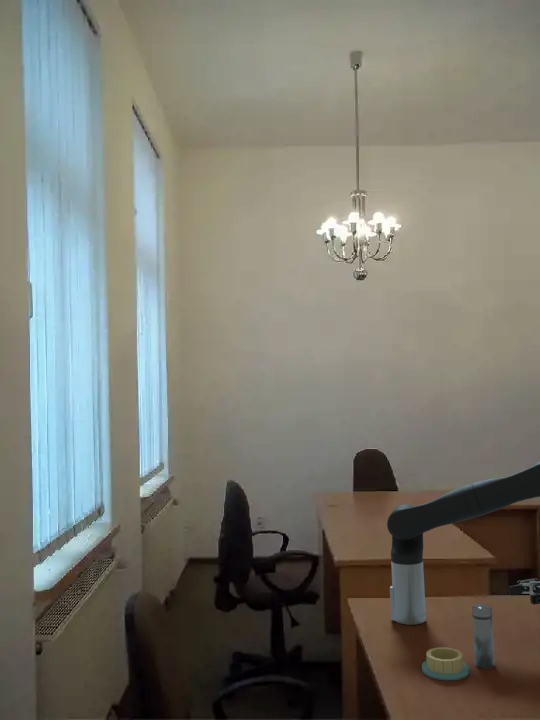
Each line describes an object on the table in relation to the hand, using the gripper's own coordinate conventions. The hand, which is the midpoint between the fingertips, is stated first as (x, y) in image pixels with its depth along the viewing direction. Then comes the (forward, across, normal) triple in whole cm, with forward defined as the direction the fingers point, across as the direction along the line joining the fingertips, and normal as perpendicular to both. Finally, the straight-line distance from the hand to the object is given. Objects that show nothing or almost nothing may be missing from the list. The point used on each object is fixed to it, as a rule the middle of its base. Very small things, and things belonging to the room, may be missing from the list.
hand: (520, 595), depth 176 cm
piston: (+12, 0, +15) cm, 19 cm away
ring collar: (+22, -1, +15) cm, 27 cm away
